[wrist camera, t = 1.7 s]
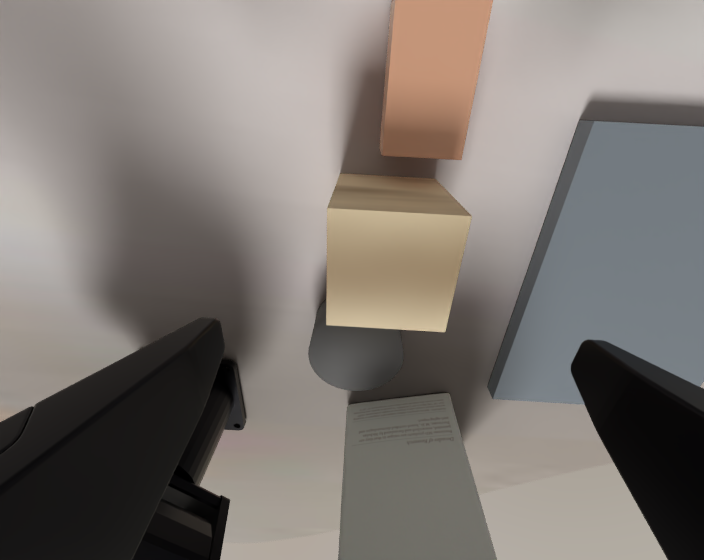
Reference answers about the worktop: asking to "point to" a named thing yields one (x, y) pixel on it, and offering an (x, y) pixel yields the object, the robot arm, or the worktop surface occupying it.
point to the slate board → (613, 262)
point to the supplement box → (409, 484)
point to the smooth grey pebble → (354, 354)
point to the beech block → (393, 252)
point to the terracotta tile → (431, 76)
